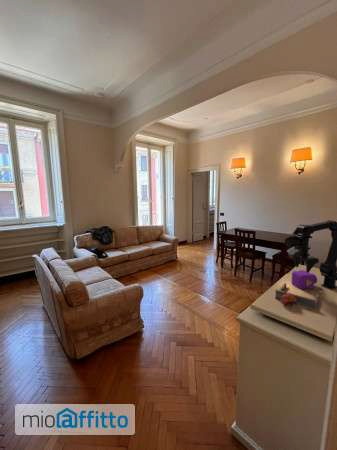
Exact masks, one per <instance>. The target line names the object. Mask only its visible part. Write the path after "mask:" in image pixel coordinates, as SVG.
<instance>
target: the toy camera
mask: <svg viewBox="0 0 337 450" xmlns="http://www.w3.org/2000/svg"><path fill="white" fill-rule="evenodd" d="M291 273H292V274H291V284H292V285H293V286H295V287H297V288H298V289H301V290H305V289H309V290H310V289H313V288H314V285H315V284H316V283H318V277H317V276H316V274H314V273H311V272H309V273H307V271H306V270H298V269H297V270H293V271H292V272H291Z"/></svg>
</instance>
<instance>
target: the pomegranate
mask: <svg viewBox="0 0 337 450" xmlns="http://www.w3.org/2000/svg"><path fill="white" fill-rule="evenodd" d="M284 292H285V294H283V295H282V297H281V300H280V302H281V304H282V305H284V306H290V308H291V310H293V308H292V306H293V305H296V304H295V303H296V302H297V300H296V298H295V296H293V295H292V294H293V293H291V292H287V294H286V291H284ZM290 293H291V294H290Z"/></svg>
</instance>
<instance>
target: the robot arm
mask: <svg viewBox="0 0 337 450" xmlns="http://www.w3.org/2000/svg"><path fill="white" fill-rule="evenodd" d="M327 229H328V230H329V231H330V232H331V233H330V236H331V239H332V240H331V242H330V247H329V250H328V254H327V256H326V260H325V261H324V262H320V260H319V258H317V257H315V256H311V254H310V253H309V250H311V247H309V244H310V242H309V241H310V239H313V236H312V234H314V233H315V232H319V231H324V230H327ZM284 245H285V247H287V248H294V247H295V248H294V249H292V250H289V251H288V252H287V255H288V257H289V259H290V258H291V259H293V262H294V264H295V265H294V266H295V267H296V268H299V266H300V262H301V259H304V262H303V263H304V264H305V268H306V269H305V271H307V273H310V271H311V270H312V269H313V267H314V266H315V265H317V264H319V262H320V266H319V268H318V269H319V273H320V276H322V277H323V278H324V279H323V283H322V284H320V285H321V287H324V288H326V289H329V290H334V289H337V285H336V283H337V264H336V263H337V221H336V220H330V219H329V220H326V221H322V222H317V223H313V224H298V225H297V227H296V229H294V230H293V232H292V234H291V235H287V236H286V238H285V239H284Z"/></svg>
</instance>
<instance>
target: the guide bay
mask: <svg viewBox="0 0 337 450" xmlns="http://www.w3.org/2000/svg"><path fill="white" fill-rule="evenodd" d="M285 289H287V283H285V282H284V283H283V284H282V286H281V287H280V288H279V289H276V290H275V299H276V300H278V301H279V300H280V301H281V297H282V295H283V294H285V292H286V291H285ZM287 293H288V292H286V294H287ZM289 293H290V294H292V295H293V296H295V298H296V300H297V302H296V303H295V304H294V305H296V306H300V307H303V308H307V309H310V310H314V311H315V310H316V307H317V305H318V302H319V299H320V297H321V291H320V290H319V291H318V292H317V293H316V296H315V298H309V297H306V296H302V295H298V294H294V293H291V292H289Z"/></svg>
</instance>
